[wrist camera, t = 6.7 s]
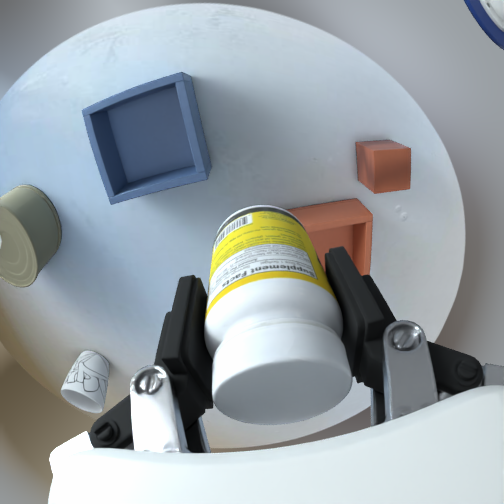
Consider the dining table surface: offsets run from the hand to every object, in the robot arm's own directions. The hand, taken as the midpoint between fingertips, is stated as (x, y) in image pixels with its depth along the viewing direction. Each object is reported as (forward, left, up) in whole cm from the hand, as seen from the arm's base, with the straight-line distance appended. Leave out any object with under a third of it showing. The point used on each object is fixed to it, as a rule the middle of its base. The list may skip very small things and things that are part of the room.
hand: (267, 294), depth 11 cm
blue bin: (-6, -9, -20) cm, 23 cm away
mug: (+29, -37, -21) cm, 51 cm away
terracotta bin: (+11, +6, -20) cm, 24 cm away
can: (-1, -31, -21) cm, 37 cm away
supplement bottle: (0, 0, -4) cm, 4 cm away
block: (+1, +14, -20) cm, 25 cm away
